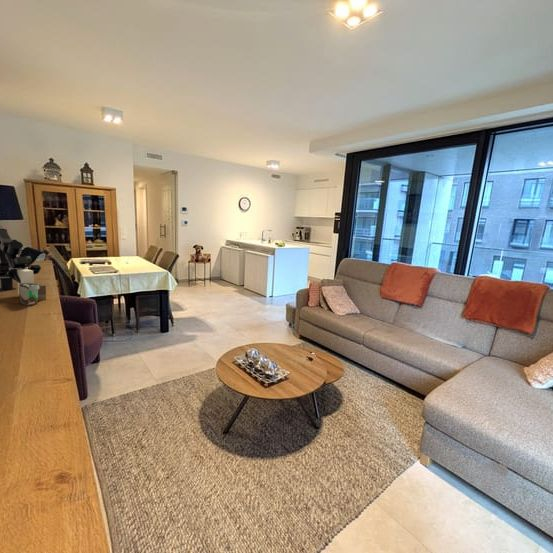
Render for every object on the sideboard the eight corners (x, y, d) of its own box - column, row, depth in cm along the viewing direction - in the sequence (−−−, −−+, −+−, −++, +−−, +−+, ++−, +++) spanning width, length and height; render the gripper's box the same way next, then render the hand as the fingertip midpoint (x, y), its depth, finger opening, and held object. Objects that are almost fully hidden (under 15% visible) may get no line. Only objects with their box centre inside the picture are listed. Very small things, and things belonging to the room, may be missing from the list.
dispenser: (19, 301, 157) (18, 286, 156) (41, 298, 165) (41, 284, 164) (23, 302, 154) (23, 287, 153) (46, 299, 163) (45, 285, 162)
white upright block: (18, 294, 165) (17, 269, 163) (26, 293, 169) (26, 268, 167) (25, 296, 162) (24, 271, 160) (34, 295, 165) (33, 270, 163)
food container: (44, 304, 154) (43, 285, 152) (29, 306, 148) (29, 286, 147) (34, 300, 160) (33, 281, 159) (19, 301, 155) (19, 282, 153)
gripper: (-3, 251, 156) (8, 275, 153) (38, 250, 173) (49, 272, 169) (-9, 264, 161) (1, 287, 157) (32, 262, 177) (42, 283, 174)
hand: (25, 282), depth 164 cm, fingers closed on white upright block, 4 cm apart
